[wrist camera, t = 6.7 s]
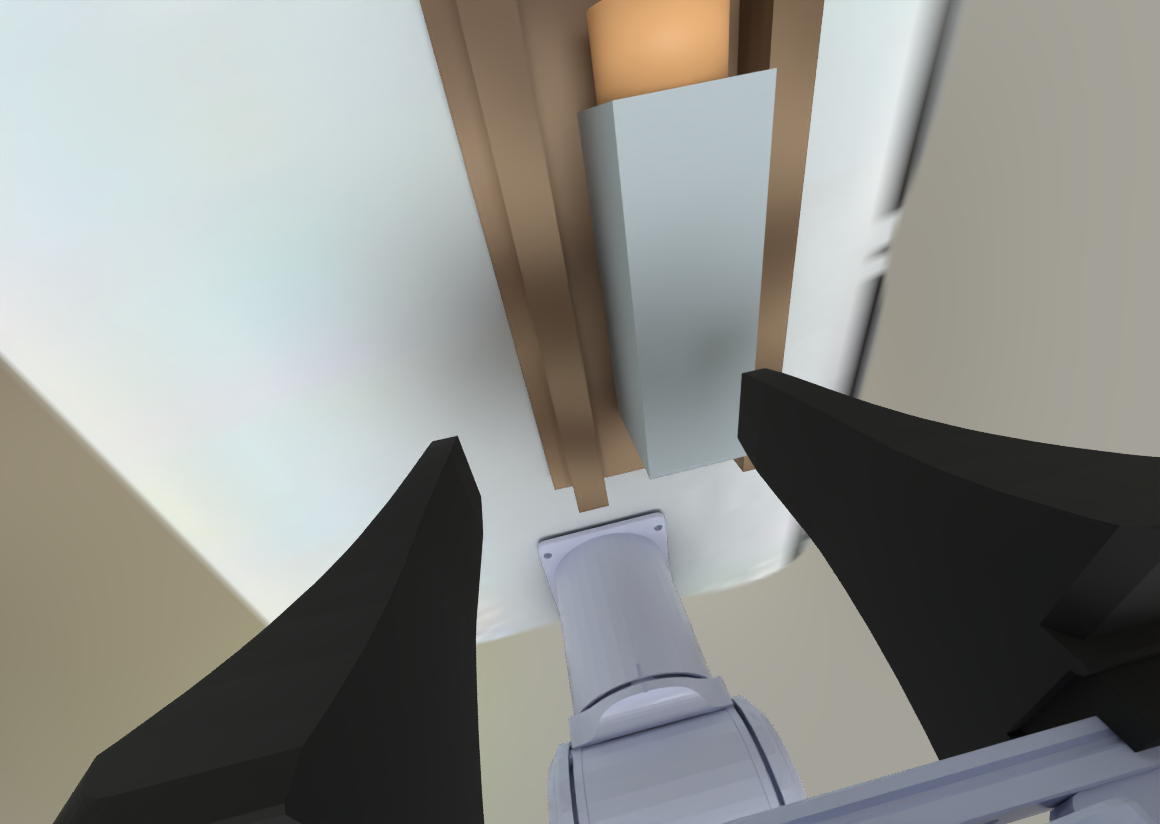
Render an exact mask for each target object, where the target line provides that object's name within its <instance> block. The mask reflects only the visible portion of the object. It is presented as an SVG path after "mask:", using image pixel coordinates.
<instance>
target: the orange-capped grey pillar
mask: <svg viewBox="0 0 1160 824" xmlns="http://www.w3.org/2000/svg"><path fill="white" fill-rule="evenodd" d="M729 12H730V0H601V1H600V2H598V3H596V4H595V5H593V6H592V7H590V8H589V9H588V10H587V12H586V15H587V23H588V32H589V41H590V49H591V58H592V66H593V75H594V83H595V92H596V100H597V106H595V107H592V108H589V109H586V110H583V111H580V112H578V113H577V116H578V123H579V131H580V138H581V145H582V152H583V159H584V166H585V174H586V181H587V188H588V195H589V202H590V209H591V217H592V224H593V231H594V238H595V245H596V252H597V260H598V267H599V274H600V281H601V288H602V295H603V303H604V310H605V317H606V324H607V331H608V338H609V345H610V353H611V360H612V367H613V374H614V381H615V388H616V396H617V403H618V410H619V413H620V415H621V417H622V420H623V422H624V424H625V426H626V428H627V430H628V432H629V435H630V437H631V439H632V441H633V443H634V445H635V448H636V450H637V452H638V454H639V456H640V458H641V461H642V463H643V465H644V467H645V469H646V471H647V474H648V476H649V478H650V479H655V478H659V477H663V476H667V475H671V474H675V473H679V472H683V471H687V470H691V469H695V468H699V467H703V466H707V465H711V464H715V463H719V462H723V461H727V460H731V459H735V458H739V457H743V456H747V454H746V452H745V451H744V449H743V447H742V445H741V444H740V442H739V440H738V438H737V434H738V420H739V406H740V391H741V377H742V373H745V372H749V371H754V370H755V361H756V347H757V334H758V320H759V306H760V293H761V279H762V265H763V251H764V238H765V224H766V210H767V197H768V183H769V169H770V156H771V142H772V128H773V115H774V101H775V87H776V73H777V68H774V69H769V70H763V71H758V72H753V73H748V74H743V75H738V76H733V77H728V56H729Z"/></svg>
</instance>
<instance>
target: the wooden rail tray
mask: <svg viewBox="0 0 1160 824" xmlns="http://www.w3.org/2000/svg"><path fill="white" fill-rule="evenodd" d="M600 1H601V0H420V4H421V7H422V11H423V14H424V18H425V22H426V25H427V29H428V33H429V36H430V40H431V43H432V47H433V51H434V54H435V58H436V62H437V65H438V69H439V72H440V76H441V80H442V83H443V87H444V90H445V94H446V98H447V101H448V105H449V109H450V112H451V116H452V119H453V123H454V127H455V130H456V134H457V138H458V141H459V145H460V148H461V152H462V156H463V159H464V163H465V167H466V170H467V174H468V177H469V181H470V185H471V188H472V192H473V195H474V199H475V203H476V206H477V210H478V214H479V217H480V221H481V224H482V228H483V232H484V235H485V239H486V243H487V246H488V250H489V253H490V257H491V261H492V264H493V268H494V272H495V275H496V279H497V282H498V286H499V290H500V293H501V297H502V300H503V304H504V308H505V311H506V315H507V319H508V322H509V326H510V329H511V333H512V337H513V340H514V344H515V348H516V351H517V355H518V358H519V362H520V366H521V369H522V373H523V377H524V380H525V384H526V387H527V391H528V395H529V398H530V402H531V405H532V409H533V413H534V416H535V420H536V424H537V427H538V431H539V434H540V438H541V442H542V445H543V449H544V453H545V456H546V460H547V463H548V467H549V471H550V474H551V478H552V481H553V485H554V489H555V490H557V489H561V488H565V487H569V486H573V488H574V492H575V497H576V501H577V505H578V509H579V513H581V512H585V511H589V510H593V509H597V508H601V507H605V506H609V504H608V498H607V493H606V488H605V482H604V478H606V477H610V476H614V475H618V474H622V473H626V472H630V471H634V470H639V469H643V468H645V467H644V465H643V463H642V461H641V458H640V456H639V454H638V452H637V450H636V448H635V445H634V443H633V441H632V439H631V437H630V435H629V432H628V430H627V428H626V426H625V424H624V422H623V420H622V417H621V415H620V413H619V410H618V403H617V396H616V388H615V381H614V374H613V367H612V360H611V353H610V345H609V338H608V331H607V324H606V317H605V310H604V303H603V295H602V288H601V281H600V274H599V267H598V260H597V252H596V245H595V238H594V231H593V224H592V217H591V209H590V202H589V195H588V188H587V181H586V174H585V166H584V159H583V152H582V145H581V138H580V131H579V123H578V116H577V113H578V112H580V111H583V110H586V109H589V108H592V107H595V106H597V100H596V92H595V83H594V75H593V66H592V58H591V49H590V41H589V32H588V23H587V15H586V12H587V10H588V9H589V8H590V7H592V6H593V5H595V4H596V3H598V2H600ZM823 7H824V0H730V12H729V56H728V77H733V76H738V75H743V74H748V73H753V72H758V71H763V70H769V69H774V68H777V73H776V87H775V101H774V115H773V128H772V142H771V156H770V169H769V183H768V197H767V210H766V224H765V238H764V251H763V265H762V279H761V293H760V306H759V320H758V334H757V347H756V361H755V370H758V369H763V368H767V369H771V370H775V371H778V372H781V373H782V367H783V358H784V349H785V340H786V332H787V323H788V314H789V305H790V296H791V288H792V279H793V270H794V261H795V253H796V244H797V235H798V226H799V217H800V209H801V200H802V191H803V182H804V174H805V165H806V156H807V147H808V139H809V130H810V121H811V112H812V103H813V95H814V86H815V77H816V68H817V60H818V51H819V42H820V33H821V24H822V16H823ZM734 461H735V462H736V463H737V465H738V466H739V467H740V469H741V470H742V471H743V472H745V471H749V470H753V469H755V467H754V466H753V464H752V462H751V461H750V459H749V458H748V456H743V457H739V458H735V459H734Z"/></svg>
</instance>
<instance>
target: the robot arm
mask: <svg viewBox="0 0 1160 824" xmlns="http://www.w3.org/2000/svg"><path fill="white" fill-rule="evenodd" d="M737 438H738V440H739V442H740V444H741V445H742V447H743V449H744V451H745V452H746V454H747V456H748V458H749V459H750V461H751V462H752V464H753V466H754V467H755V469H756V470H757V472H758V473H759V474H760V476H761V477H762V478H763V479H764V481H765V482H766V483H767V484H768V486H769V487H770V488H771V489H772V491H773V492H774V493H775V495H776V496H777V497H778V498H779V499H780V501H781V502H782V503H783V504H784V506H785V507H786V508H787V509H788V511H789V512H790V513H791V514H792V516H793V517H794V518H795V519H796V521H797V522H798V523H799V524H800V526H801V527H802V528H803V529H804V530H805V532H806V533H807V534H808V535H809V537H810V538H811V539H812V541H813V542H814V543H815V545H816V546H817V548H818V549H819V550H820V552H821V553H822V554H823V556H824V557H825V559H826V561H827V562H828V564H829V565H830V567H831V568H832V570H833V571H834V573H835V574H836V576H837V577H838V579H839V581H840V582H841V584H842V585H843V587H844V588H845V590H846V591H847V593H848V595H849V597H850V598H851V600H852V602H853V603H854V605H855V606H856V608H857V610H858V611H859V613H860V615H861V616H862V618H863V619H864V621H865V623H866V625H867V626H868V628H869V629H870V631H871V633H872V635H873V637H874V638H875V640H876V641H877V643H878V645H879V647H880V649H881V651H882V652H883V654H884V656H885V658H886V659H887V661H888V663H889V665H890V666H891V668H892V670H893V672H894V674H895V675H896V677H897V679H898V681H899V683H900V685H901V686H902V689H903V690H904V692H905V694H906V696H907V698H908V700H909V702H910V704H911V706H912V707H913V709H914V711H915V713H916V715H917V717H918V719H919V721H920V723H921V725H922V726H923V729H924V730H925V732H926V734H927V736H928V738H929V740H930V743H931V745H932V747H933V749H934V751H935V753H936V755H937V757H938V759H939V761H937V762H933V763H930V764H926V765H923V766H919V767H916V768H912V769H909V770H905V771H902V772H898V773H895V774H891V775H888V776H885V777H881V778H878V779H874V780H871V781H867V782H864V783H860V784H857V785H853V786H850V787H846V788H843V789H839V790H836V791H832V792H829V793H825V794H822V795H819V796H815V797H812V798H807V795H806V793H805V790H804V787H803V785H802V782H801V780H800V778H799V775H798V773H797V771H796V768H795V766H794V764H793V762H792V760H791V758H790V756H789V754H788V751H787V750H786V748H785V746H784V744H783V742H782V740H781V738H780V737H779V735H778V733H777V731H776V729H775V728H774V726H773V725H772V723H771V722H770V720H769V719H768V718H767V716H766V715H765V714H764V713H763V712H762V711H761V710H760V709H759V708H758V707H756V706H755V705H753V704H751V702H750V701H749V700H748V699H746V698H745V697H743V696H735V697H732V698H730V695H729V693H728V691H727V688H726V686H725V684H724V681H723V679H722V677H720V676H718V677H714V678H712V675H711V673H710V670H709V668H708V666H707V663H706V661H705V658H704V656H703V653H702V651H701V649H700V646H699V643H698V641H697V638H696V636H695V634H694V631H693V629H692V626H691V624H690V621H689V619H688V616H687V614H686V612H685V609H684V607H683V604H682V602H681V599H680V597H679V594H678V592H677V589H676V587H675V585H674V582H673V580H672V577H671V575H670V572H669V560H668V547H667V534H666V522H665V518H664V515H663V514H662V513H659V512H656V513H652V514H648V515H644V516H640V517H636V518H632V519H628V520H624V521H620V522H616V523H612V524H608V525H604V526H600V527H596V528H592V529H588V530H584V531H580V532H576V533H572V534H568V535H564V536H560V537H556V538H552V539H548V540H544V541H542V542H540V543H539V544H538V553H539V556H540V559H541V562H542V565H543V568H544V571H545V574H546V576H547V579H548V582H549V585H550V588H551V591H552V594H553V597H554V600H555V602H556V605H557V608H558V611H559V614H560V619H561V626H562V633H563V640H564V647H565V654H566V662H567V669H568V676H569V683H570V690H571V697H572V704H573V711H574V715H573V716H570V717H569V718H568V720H569V728H570V736H571V742H567V743H562V744H560V745H559V746H558V748H557V750H556V754H555V756H554V758H553V760H552V762H551V764H550V766H549V772H548V810H549V823H550V824H1007V823H1010V822H1014V821H1017V820H1020V819H1023V818H1027V817H1030V816H1034V815H1037V814H1040V813H1043V812H1047V811H1050V810H1052V811H1050V822H1049V823H1046V824H1160V457H1149V456H1139V455H1129V454H1121V453H1113V452H1104V451H1097V450H1089V449H1081V448H1073V447H1066V446H1059V445H1053V444H1046V443H1040V442H1033V441H1028V440H1022V439H1017V438H1011V437H1006V436H1000V435H995V434H989V433H984V432H979V431H974V430H969V429H965V428H960V427H956V426H951V425H948V424H944V423H940V422H935V421H931V420H927V419H923V418H919V417H915V416H911V415H908V414H905V413H901V412H898V411H894V410H891V409H888V408H885V407H881V406H878V405H874V404H871V403H868V402H865V401H862V400H859V399H856V398H853V397H850V396H847V395H844V394H841V393H839V392H836V391H833V390H830V389H827V388H824V387H822V386H819V385H816V384H813V383H810V382H808V381H805V380H802V379H799V378H796V377H793V376H790V375H787V374H784V373H781V372H778V371H775V370H771V369H767V368H763V369H758V370H754V371H749V372H745V373H742V377H741V391H740V406H739V420H738V434H737ZM482 542H483V520H482V503H481V495H480V493H479V490H478V487H477V485H476V482H475V480H474V477H473V474H472V472H471V469H470V467H469V464H468V462H467V459H466V456H465V454H464V451H463V449H462V446H461V443H460V441H459V438H458V436H455V437H450V438H445V439H441V440H436V441H432V443H431V444H430V445H429V447H428V448H427V449H426V451H425V452H424V453H423V455H422V456H421V458H420V459H419V460H418V462H417V463H416V465H415V466H414V467H413V469H412V470H411V472H410V473H409V474H408V476H407V477H406V478H405V480H404V481H403V482H402V484H401V485H400V487H399V488H398V489H397V491H396V492H395V493H394V495H393V496H392V497H391V499H390V500H389V501H388V502H387V504H386V505H385V506H384V507H383V509H382V510H381V511H380V512H379V513H378V515H377V516H376V517H375V518H374V520H373V521H372V522H371V523H370V524H369V526H368V527H367V528H366V529H365V530H364V532H363V533H362V534H361V535H360V536H359V538H358V539H357V540H356V541H355V542H354V543H353V544H352V545H351V547H350V548H349V549H348V550H347V551H346V552H345V553H344V554H343V555H342V556H341V557H340V558H339V559H338V560H337V561H336V562H335V563H334V564H333V565H332V567H331V568H330V569H329V570H328V571H327V572H326V573H325V574H324V575H323V576H322V577H321V578H320V579H319V580H318V581H317V582H316V583H315V584H314V585H312V586H311V587H310V588H309V589H308V590H307V591H306V592H305V593H304V594H303V595H301V596H300V597H299V598H298V599H297V600H296V601H295V602H294V603H293V604H292V605H291V606H289V607H288V608H287V609H286V610H285V611H284V612H283V613H282V614H281V615H280V616H278V617H277V618H276V619H275V620H274V621H273V622H272V623H271V624H270V625H268V626H267V627H266V628H265V629H264V630H263V631H261V633H259V634H258V635H257V636H256V637H254V638H253V639H252V640H251V641H250V642H248V643H247V644H246V645H245V646H243V647H242V648H241V649H240V650H239V651H237V652H236V653H235V654H234V655H233V656H231V657H230V658H229V659H227V660H226V661H225V662H224V663H222V664H221V665H220V666H219V667H217V668H216V669H215V670H214V671H212V672H211V673H210V674H209V675H207V676H206V677H205V678H203V679H202V680H201V681H199V682H198V683H197V684H195V685H194V686H193V687H192V688H190V689H189V690H188V691H186V692H185V693H184V694H182V695H181V696H180V697H178V698H177V699H175V700H174V701H173V702H171V703H170V704H168V705H167V706H166V707H164V708H163V709H162V710H160V711H159V712H158V713H156V714H155V715H154V716H152V717H151V718H149V719H148V720H146V721H145V722H144V723H142V724H141V725H140V726H138V727H137V728H136V729H134V730H133V731H131V732H130V733H129V734H127V735H126V736H124V737H123V738H122V739H120V740H119V741H118V742H116V743H115V744H113V745H112V746H110V747H109V748H108V749H106V750H105V751H103V752H102V753H100V754H99V755H97V757H96V758H95V759H94V761H93V762H92V764H91V766H90V767H89V769H88V770H87V772H86V773H85V775H84V776H83V778H82V779H81V781H80V783H79V784H78V786H77V787H76V789H75V790H74V792H73V793H72V795H71V797H70V798H69V800H68V801H67V803H66V804H65V806H64V807H63V809H62V810H61V812H60V813H59V815H58V817H57V818H56V820H55V821H54V823H53V824H484V814H483V801H482V786H481V770H480V769H481V768H480V750H479V731H478V709H477V708H478V705H477V674H476V620H477V607H478V594H479V582H480V569H481V556H482Z"/></svg>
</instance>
